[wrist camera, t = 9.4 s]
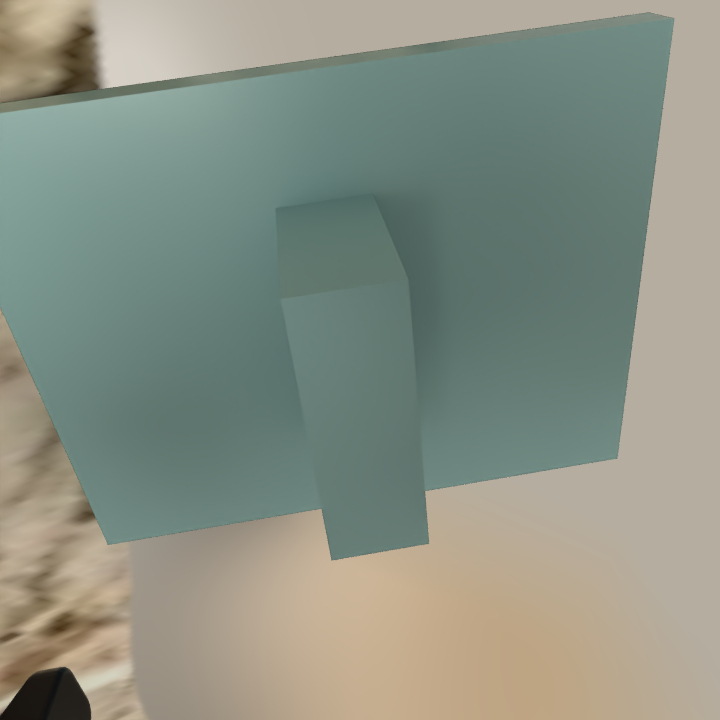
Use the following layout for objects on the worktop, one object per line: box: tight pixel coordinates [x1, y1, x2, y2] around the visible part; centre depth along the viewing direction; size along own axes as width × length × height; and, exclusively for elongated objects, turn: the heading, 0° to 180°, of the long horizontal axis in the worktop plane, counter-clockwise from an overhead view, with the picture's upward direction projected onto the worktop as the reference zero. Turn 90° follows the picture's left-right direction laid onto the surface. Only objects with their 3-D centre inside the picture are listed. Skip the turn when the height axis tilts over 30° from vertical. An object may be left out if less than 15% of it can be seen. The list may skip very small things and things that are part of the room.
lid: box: [0, 13, 674, 560], centre depth 15 cm, size 11×14×6 cm
